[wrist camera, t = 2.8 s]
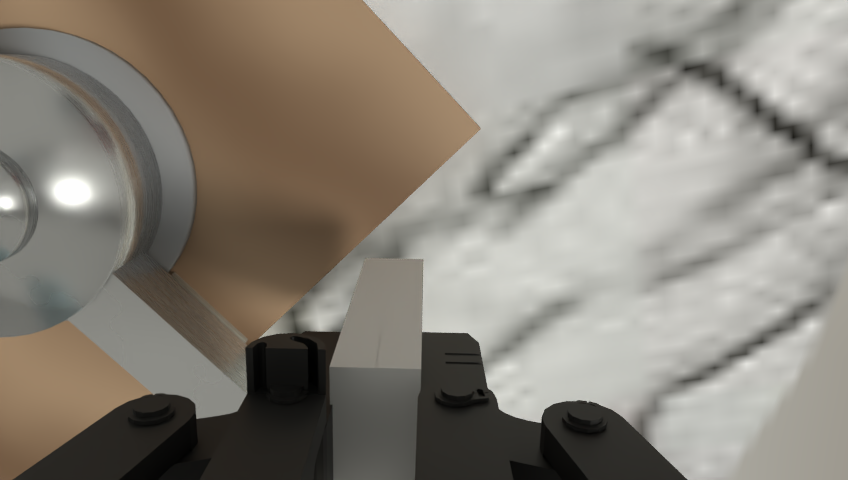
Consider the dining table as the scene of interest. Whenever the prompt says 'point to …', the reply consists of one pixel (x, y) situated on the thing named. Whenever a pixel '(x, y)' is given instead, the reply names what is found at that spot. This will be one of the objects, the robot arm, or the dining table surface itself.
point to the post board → (230, 166)
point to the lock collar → (98, 237)
